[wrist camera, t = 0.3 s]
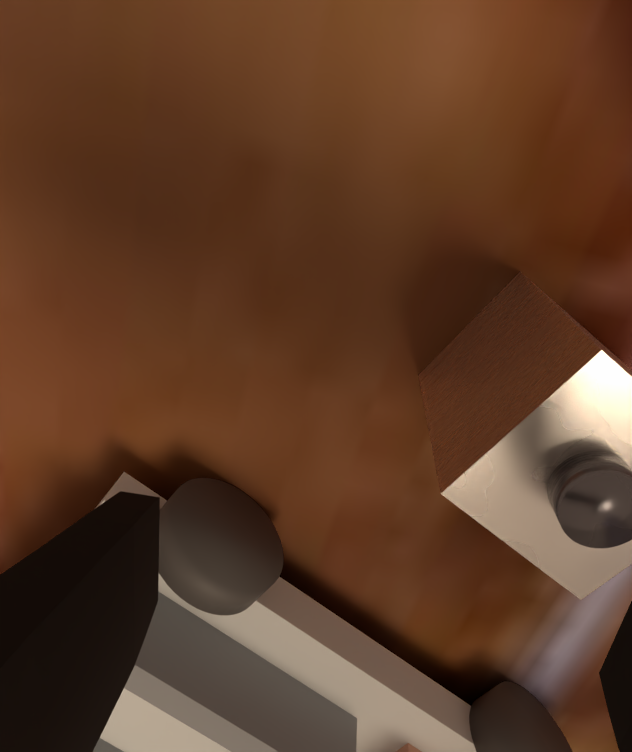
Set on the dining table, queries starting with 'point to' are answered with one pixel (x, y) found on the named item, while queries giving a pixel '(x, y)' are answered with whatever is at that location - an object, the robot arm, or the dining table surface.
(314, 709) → the chassis
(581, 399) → the block
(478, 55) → the dining table surface
